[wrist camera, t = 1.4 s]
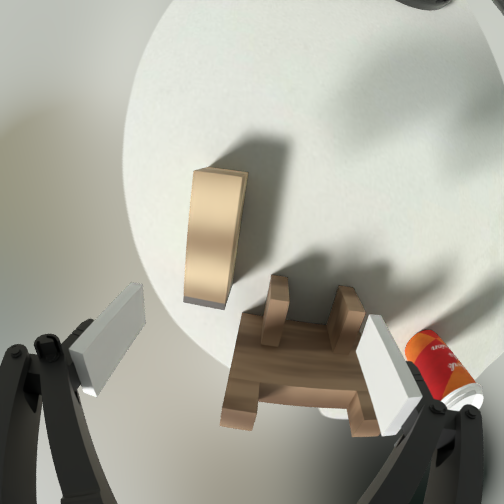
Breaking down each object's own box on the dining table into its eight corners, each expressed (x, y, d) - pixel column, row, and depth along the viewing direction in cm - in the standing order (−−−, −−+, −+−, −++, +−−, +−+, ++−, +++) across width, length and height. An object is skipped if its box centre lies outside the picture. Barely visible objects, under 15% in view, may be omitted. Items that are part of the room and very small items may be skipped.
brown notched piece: (248, 270, 35) (229, 359, 20) (372, 290, 34) (420, 375, 19) (239, 330, 38) (219, 425, 23) (351, 345, 37) (378, 435, 22)
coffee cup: (448, 344, 37) (488, 407, 23) (407, 372, 39) (437, 441, 25) (435, 312, 35) (484, 379, 21) (390, 344, 37) (424, 420, 23)
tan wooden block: (208, 166, 31) (193, 170, 25) (248, 172, 31) (242, 177, 25) (197, 278, 36) (183, 302, 30) (232, 285, 36) (224, 310, 30)
